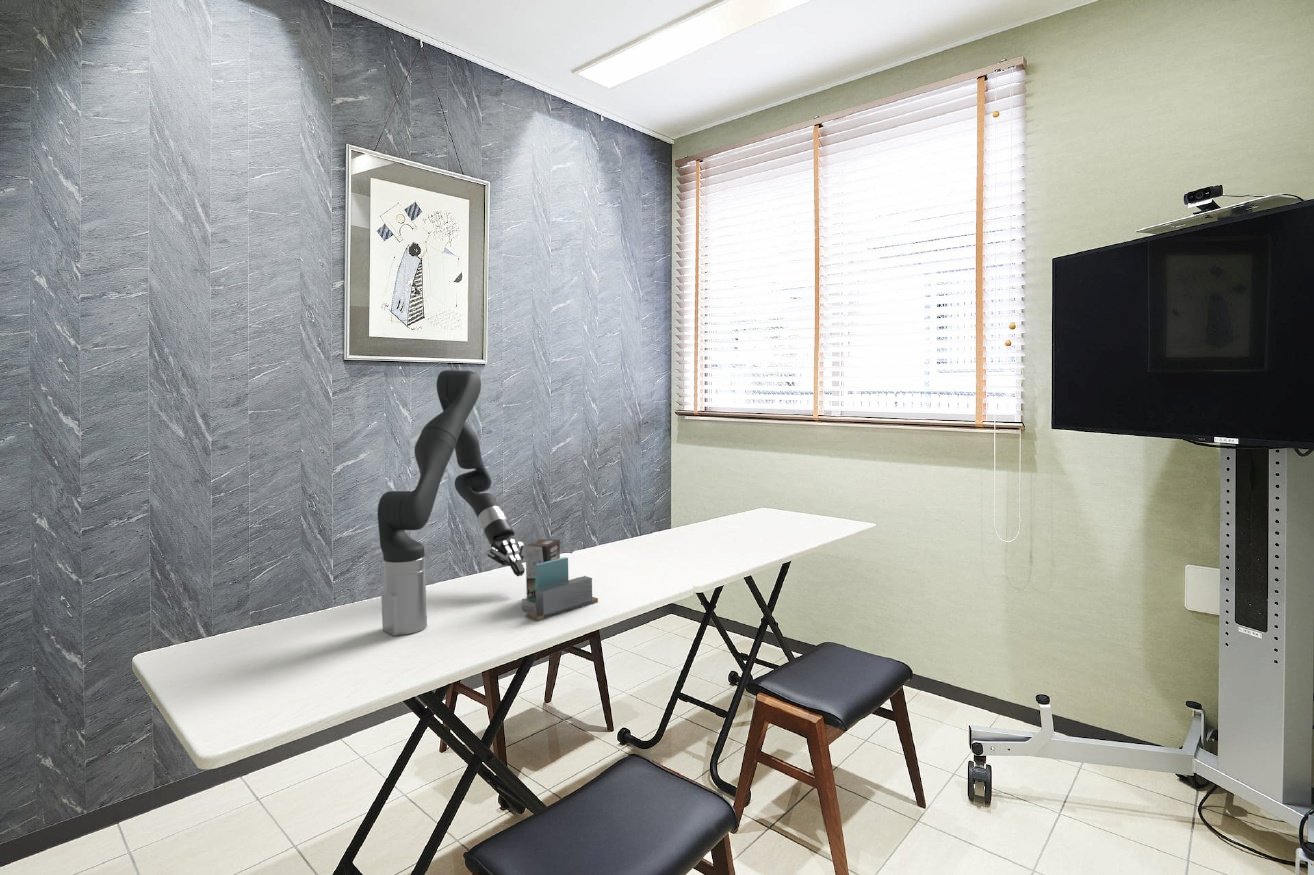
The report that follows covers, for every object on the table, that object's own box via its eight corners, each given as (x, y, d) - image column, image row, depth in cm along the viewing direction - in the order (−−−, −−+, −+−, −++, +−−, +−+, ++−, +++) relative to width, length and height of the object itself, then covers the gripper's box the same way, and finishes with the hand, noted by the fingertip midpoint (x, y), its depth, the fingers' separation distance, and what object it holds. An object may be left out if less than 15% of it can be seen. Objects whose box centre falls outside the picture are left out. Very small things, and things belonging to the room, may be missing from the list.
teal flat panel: (530, 605, 166) (529, 567, 166) (527, 604, 167) (526, 566, 166) (568, 594, 175) (568, 557, 175) (566, 593, 176) (565, 557, 176)
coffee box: (548, 606, 172) (546, 546, 171) (525, 605, 173) (524, 545, 172) (562, 596, 180) (560, 539, 179) (540, 594, 182) (539, 537, 181)
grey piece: (537, 621, 160) (536, 593, 160) (514, 612, 167) (514, 586, 167) (598, 602, 175) (597, 576, 175) (575, 594, 181) (574, 570, 181)
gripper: (480, 521, 182) (506, 571, 175) (519, 514, 192) (545, 562, 184) (470, 537, 186) (495, 587, 179) (509, 529, 196) (535, 577, 188)
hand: (521, 574), depth 182 cm, fingers closed
